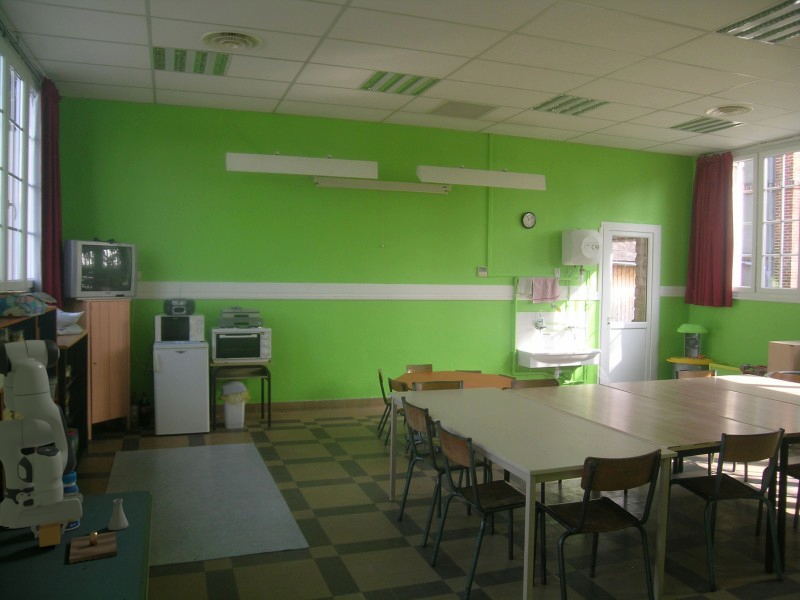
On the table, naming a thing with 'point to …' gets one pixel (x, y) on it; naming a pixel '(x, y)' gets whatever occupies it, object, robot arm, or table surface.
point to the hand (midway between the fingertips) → (49, 535)
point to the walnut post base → (93, 547)
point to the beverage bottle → (70, 487)
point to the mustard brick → (49, 534)
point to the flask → (118, 517)
